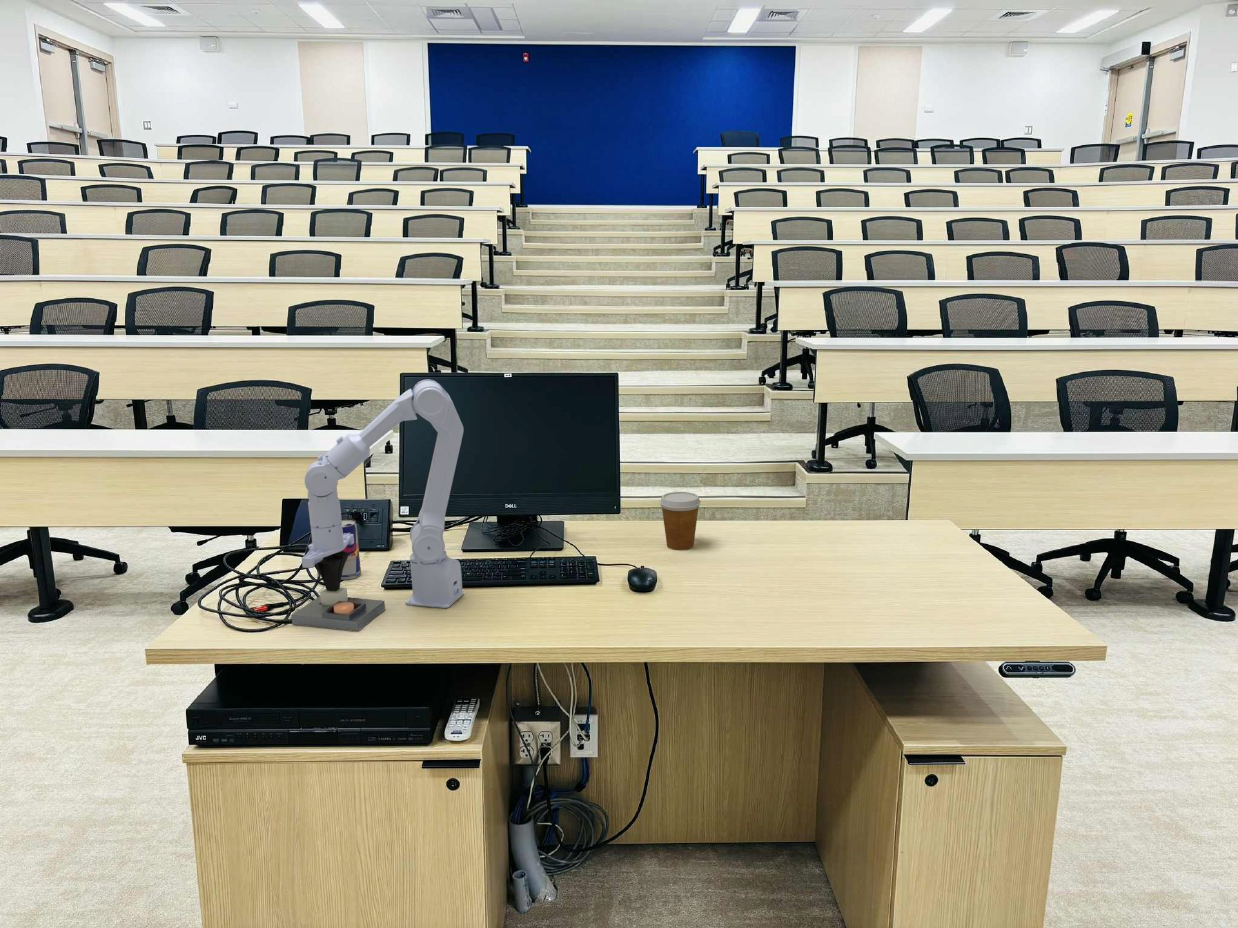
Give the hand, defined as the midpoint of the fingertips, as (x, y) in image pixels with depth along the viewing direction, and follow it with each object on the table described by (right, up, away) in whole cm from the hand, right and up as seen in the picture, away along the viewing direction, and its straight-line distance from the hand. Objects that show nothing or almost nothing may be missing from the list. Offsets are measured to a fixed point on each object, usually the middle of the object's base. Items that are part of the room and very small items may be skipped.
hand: (333, 589), depth 169 cm
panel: (+2, -5, -2) cm, 6 cm away
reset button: (+4, -5, -4) cm, 8 cm away
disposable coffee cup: (+70, +5, +34) cm, 78 cm away
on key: (0, -3, +1) cm, 3 cm away
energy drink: (-3, 0, +20) cm, 20 cm away
